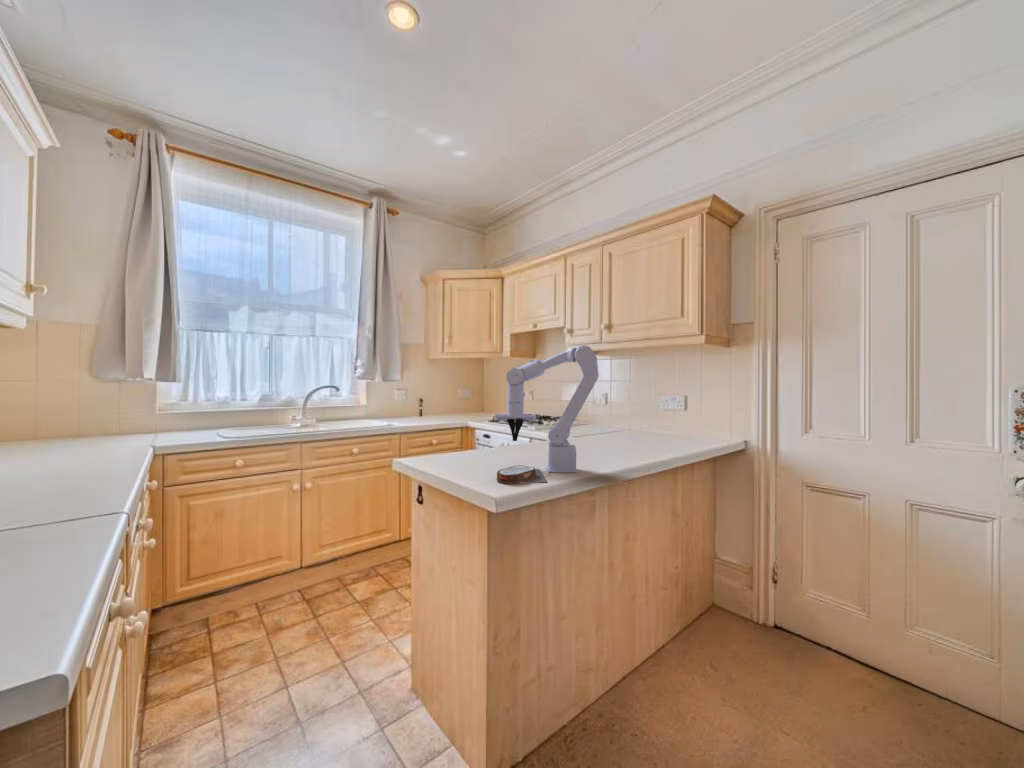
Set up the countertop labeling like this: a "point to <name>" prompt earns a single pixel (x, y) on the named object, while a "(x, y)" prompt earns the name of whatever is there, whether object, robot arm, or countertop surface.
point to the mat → (537, 477)
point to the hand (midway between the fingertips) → (514, 440)
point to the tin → (516, 474)
